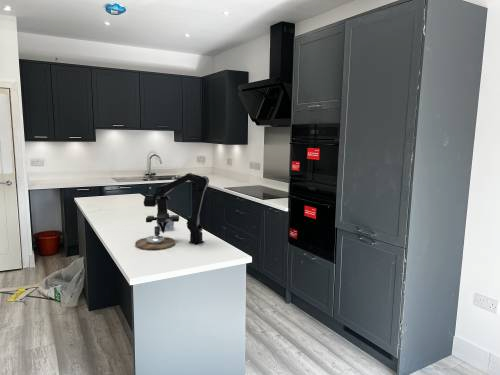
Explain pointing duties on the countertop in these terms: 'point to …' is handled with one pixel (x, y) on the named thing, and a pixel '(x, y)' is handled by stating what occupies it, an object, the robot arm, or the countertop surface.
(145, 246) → the dial base plate
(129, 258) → the countertop surface
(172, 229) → the light bulb box
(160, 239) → the dial
